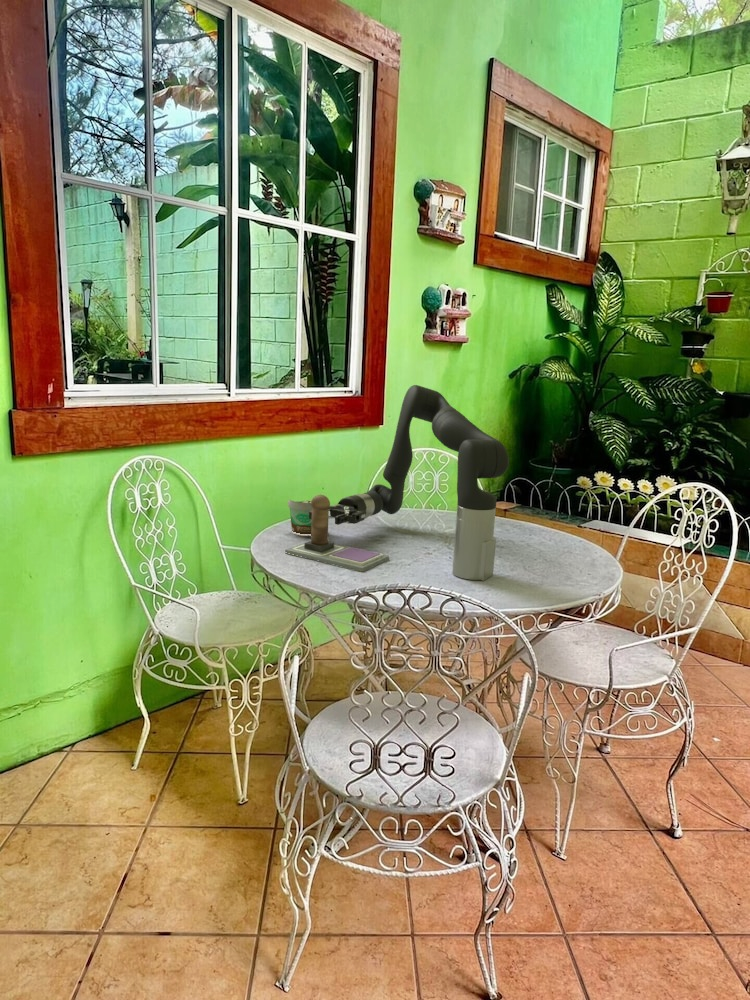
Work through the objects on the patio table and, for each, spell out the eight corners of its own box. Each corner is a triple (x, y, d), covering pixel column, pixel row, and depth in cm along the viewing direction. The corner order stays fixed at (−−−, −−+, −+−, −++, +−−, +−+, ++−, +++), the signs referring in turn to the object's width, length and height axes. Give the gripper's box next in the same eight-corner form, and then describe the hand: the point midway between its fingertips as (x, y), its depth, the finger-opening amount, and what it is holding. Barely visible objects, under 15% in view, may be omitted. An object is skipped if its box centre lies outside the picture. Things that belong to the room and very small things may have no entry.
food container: (284, 536, 185) (285, 502, 182) (286, 531, 191) (287, 498, 188) (327, 538, 185) (328, 504, 183) (328, 532, 191) (329, 499, 189)
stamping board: (389, 559, 168) (389, 552, 167) (362, 571, 157) (362, 564, 156) (315, 542, 180) (315, 536, 179) (285, 553, 169) (285, 546, 168)
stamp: (333, 547, 172) (335, 494, 169) (321, 552, 168) (323, 498, 165) (317, 544, 175) (318, 491, 172) (304, 548, 170) (305, 494, 167)
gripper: (336, 491, 187) (301, 500, 173) (378, 498, 180) (345, 508, 166) (335, 516, 189) (301, 527, 175) (376, 524, 181) (344, 536, 168)
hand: (322, 518), depth 171 cm, fingers open, 8 cm apart
